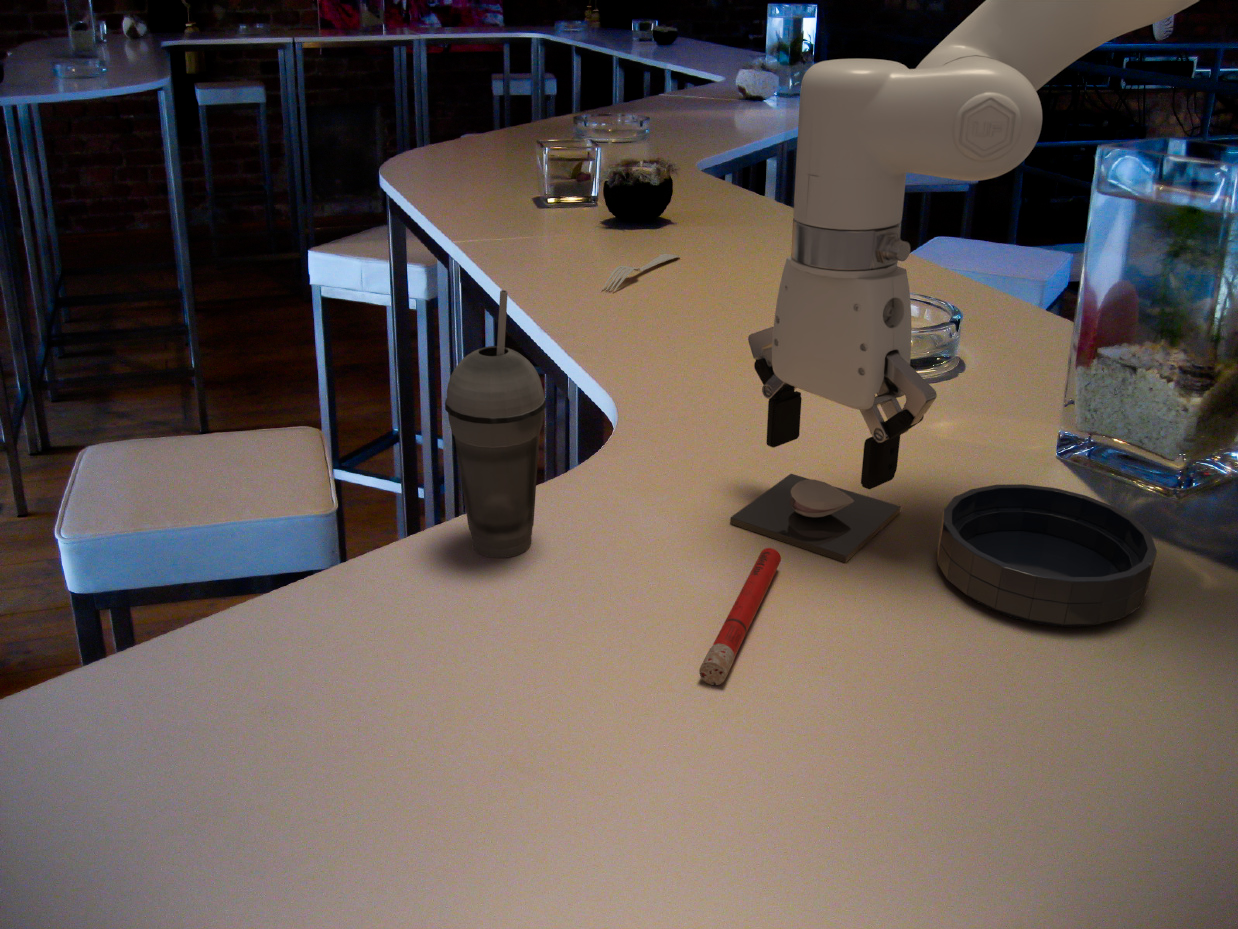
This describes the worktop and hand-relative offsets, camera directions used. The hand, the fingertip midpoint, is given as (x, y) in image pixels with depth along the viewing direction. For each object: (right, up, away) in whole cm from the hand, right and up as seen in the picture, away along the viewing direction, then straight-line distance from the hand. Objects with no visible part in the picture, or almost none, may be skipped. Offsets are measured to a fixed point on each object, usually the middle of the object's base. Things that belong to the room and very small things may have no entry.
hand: (828, 462), depth 85 cm
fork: (-13, +26, +67) cm, 73 cm away
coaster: (-1, -4, +2) cm, 5 cm away
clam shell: (0, -4, +2) cm, 5 cm away
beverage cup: (-25, -6, -2) cm, 26 cm away
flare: (-8, -11, -11) cm, 18 cm away
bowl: (+14, -8, -6) cm, 17 cm away
